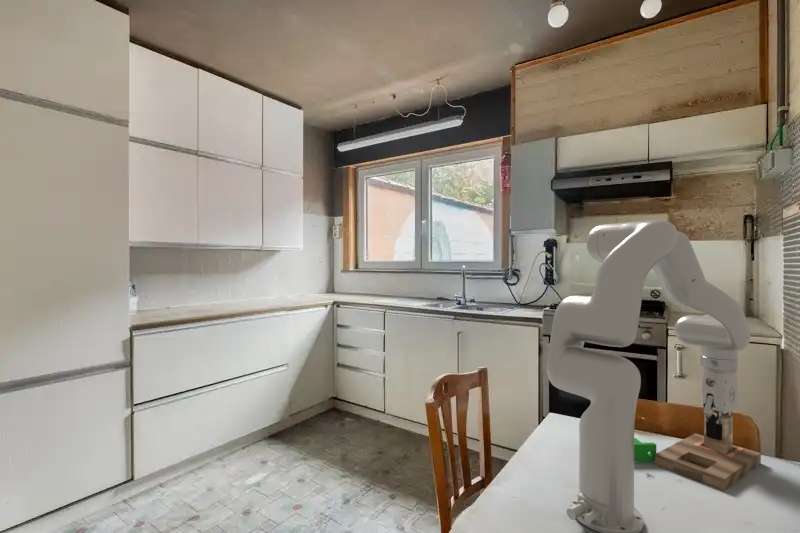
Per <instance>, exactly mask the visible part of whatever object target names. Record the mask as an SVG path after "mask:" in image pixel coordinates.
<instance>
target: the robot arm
mask: <svg viewBox="0 0 800 533" xmlns="http://www.w3.org/2000/svg"><path fill="white" fill-rule="evenodd" d="M586 237H587V238H586V250H587V252H588V254H589V255H590V256H591V258H592V259H594V261H596V262H598V263H601V264H600V265H599V267H598V269H597V272H596V276H595V282H594V286H593V291H592V292H593V293H592V294H591V295H576V294H575V295H570V296H568V297H565V298H564V299H562V300H561V302H559V304H558V305H557V307H556V309H555V312H554V313H553V314H554V315H553V320H552V326H551V330H550V331H551V332H550V338H549V339H550V341H549V346H548V352H547V361H546V374H547V377H548V380H549V382H550V384H551V385H552V386H553V387H555V388H557V390H561V391H564V392H566V393H570V394H573V395H575V396H579V397H582V398H584V399H587V400H589V401H590V405H589V406H588V407H587V409H586V410H585V411H584V412H583V413H582V415H581V416H580V419H579V426H578V429H579V430H578V431H579V432H578V433H579V435H578V437H579V439H578V440H579V442H578V443H579V444H578V445H579V448H578V449H579V450H578V452H579V454H578V455H579V457H578V459H579V461H578V462H579V465H578V466H579V469H578V471H579V472H578V473H579V476H578V477H579V478H578V479H579V482H578V483H579V484H578V486H579V487H578V493H577V495H575V496H574V497H573V498H571V500H570V506H569V507H568V508H567V509H566V515H567V517H568V518H569V519H570V520H573V521H575V520H577V521H579V522H580V523H581V524H582V525H584V527H585V526H586V527H587V528H589V529H590V530H593V531H596V532H598V533H640V532H642V530H643V529H644V525H645V524H644V518H643V515H642V513H641V512H640V511H639V510H638V509H637V508H636V507H635V462H634V438H635V420H636V411H637V403H638V399H639V395H640V394H639V393H640V391H641V384H642V379H641V378H642V377H641V373H640V370H639V368H638V367H637V366H636V365H635V363H633V362H632V361H631V360H630V359H627V358H626V357H623V356H621V355H618V354H614V353H611V352H605V351H600V350H599V351H598V350H595V349H588V348H584V345H585V343H589V344H595V345H600V346H607V347H615V348H616V347H617V348H625V347H628V346H630V345H632V344H633V343H634V342H635V339H636V338H637V334H638V329H639V323H640V322H639V321H640V314H641V307H642V299H643V292H644V285H645V281H646V279H647V276H648V275H649V273H650V271H651V270H653V271H654V274H655V276H656V277H657V280H658V281H659V284H660V286H661V289H662V291H663V293H664V295H665V296H666V297H667V298H668V299H670V300H671V301H673V302H675V303H677V304H679V305H682V306H684V307H686V308H690V309H693V310H695V311H699V312H701V313H704V314H703V315H695V314H688V315H684V316H682V317H680V318H679V319H678V320H677V321H676V323H675V325H674V335H675V337H676V338H677V340H679V341H680V342H681V343H682V344H685V345H688V346H693V347H699V348H700V349H699V351H700V352H699V353H700V355H699V358H700V360H699V362H700V364H699V365H700V366H699V367H700V369H702V376H701V377H702V378H701V393H700V394H701V395H700V399H701V400H700V402H701V407H702V408H703V415H704V414H705V416H706V436H707V437H709V438H713V439H716V440H719V441H721V440H722V424H720V422H721V413H723V414H727V415H731V416H732V413H731V412H732V411H733V410H735V409H737V408H738V407H739V402H740V401H739V387H738V386H739V385H738V375H737V373H739V352H741V351H744V350H745V349H747V347H748V346H749V344H750V342H751V331H750V326H749V323H748V320H747V317H746V315H745V312H744V310H743V309H742V307H741V305H740V304H739V303H738V302H737V301H736V300H735V299H734V298H733V297H731V296H730V295H729V294H728V293H726V291H725V292H724V291H723V290H722V289H720V288H719V287H717V286H715V285H714V284H712V283H710V282H709V281H707V280H706V277H705V275H704V272H703V269H702V267H701V264H700V263H699V260H698V258H697V255H696V253H695V250H694V248H693V245H692V242H691V240H690V239H689V236H687V234H686V233H683V232H681V231H678V230H677V227H676V226H675V225H674V224H673V223H671V222H670V221H667V220H663V219H646V220H635V221H627V222H617V223H614V222H613V223H606V224H600V225H597V226H595V227H594V228H592V229H591V230H590V231H589V233H588V234H587V236H586ZM714 408H715V409H714ZM712 412H713V413H717V418H716V416H715V414H713V413H712Z"/></svg>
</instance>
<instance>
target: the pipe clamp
mask: <svg viewBox="0 0 800 533" xmlns="http://www.w3.org/2000/svg"><path fill="white" fill-rule="evenodd" d="M656 453H657V443H655V442H642V441H640V440H639V439H638V438H636V437H634V463H655V454H656Z"/></svg>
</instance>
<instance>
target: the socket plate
mask: <svg viewBox="0 0 800 533" xmlns="http://www.w3.org/2000/svg"><path fill="white" fill-rule="evenodd" d="M761 460H762V453H761V452H758V451H755V450H751V449H749V448H745V447H741V446H738V445H735V444H733V451H732V452H731V453H729V454H725V453H722V452H719V451H716V450H713V449H710V448H706V447H704V435H702V434H699V433H693V434H691V435H689V436H687V437H685V438H684V439H681V440H679V441H678V442H676V443H673V444H671V445H670V446H668V447H666V448H664V449H662V450H660V451H658V452H656V454H655V462H654V464H655V465H656V466H659V467H660V468H661V467H662V468H664V469H667V470H669V471H672V472H675V473H677V474H680V475H683V476H685V477H688V478H690V479H693V480H696V481H698V482H701V483H703V484H706V485H709V486H711V487H714V488H717V489H719V490H722V491H726V490H727V489H729V488H730V487H731V486H733V485H734V484H736V483H737V482H738V481H740V480H741V479H742V478H744V477H745V476H746V475H747V474H749V473H750V472H751V471H753V470H754V469H755V468H757V467H758V466H759V465H761V464H760V463H762V461H761ZM757 465H758V466H757ZM756 466H757V467H756ZM752 469H753V470H752Z"/></svg>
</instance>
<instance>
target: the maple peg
mask: <svg viewBox="0 0 800 533" xmlns="http://www.w3.org/2000/svg"><path fill="white" fill-rule="evenodd" d="M712 413H713V412H712ZM713 414H715V416H716V418H717V413H713ZM720 424H722V440H721V441H719V440H716V439H713V438H709V437H707V436H706V416H705V414H704V413H703V436H704V447H706V448H710V449H713V450H716V451H719V452H722V453H725V454H729V453H731V452H732V451H733V445H734V443H733V442H734V440H733V439H734V437H733V435H734V427H733V426H734V425H733V424H734V417H733V415H732V414H731V415H727V414H723V413H721V422H720Z"/></svg>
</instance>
